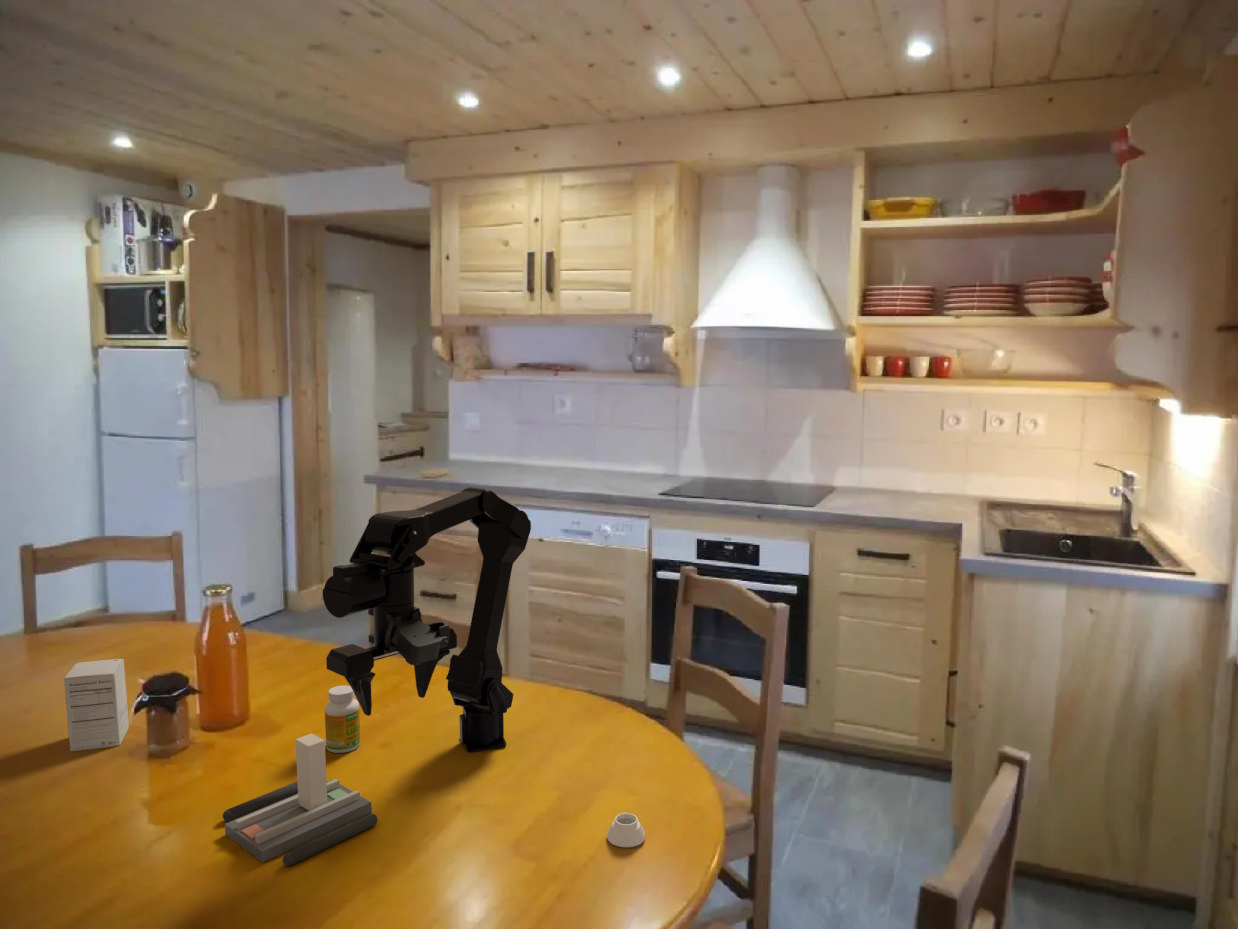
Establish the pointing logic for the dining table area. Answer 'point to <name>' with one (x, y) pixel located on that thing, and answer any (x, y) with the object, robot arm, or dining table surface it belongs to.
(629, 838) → the lidless jar
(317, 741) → the handle
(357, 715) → the supplement bottle
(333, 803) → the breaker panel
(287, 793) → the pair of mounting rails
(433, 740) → the dining table surface
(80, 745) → the supplement box
